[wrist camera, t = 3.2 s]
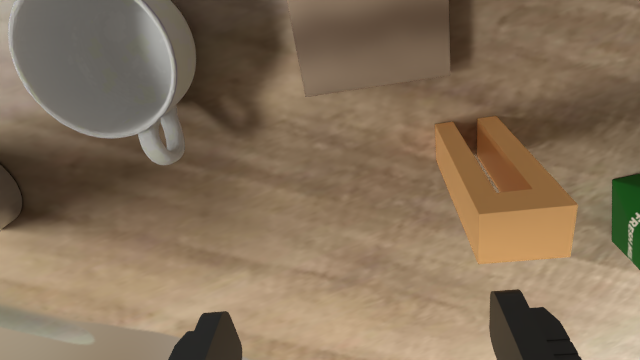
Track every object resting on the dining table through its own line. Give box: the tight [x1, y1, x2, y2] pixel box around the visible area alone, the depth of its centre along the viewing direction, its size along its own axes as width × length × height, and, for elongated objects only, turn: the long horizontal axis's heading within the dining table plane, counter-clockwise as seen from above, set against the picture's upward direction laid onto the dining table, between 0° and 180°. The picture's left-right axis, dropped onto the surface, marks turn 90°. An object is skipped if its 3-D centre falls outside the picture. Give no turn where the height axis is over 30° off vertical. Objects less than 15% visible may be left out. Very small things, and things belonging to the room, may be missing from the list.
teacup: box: [8, 0, 196, 165], centre depth 30 cm, size 14×11×8 cm
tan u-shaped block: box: [435, 116, 578, 264], centre depth 28 cm, size 4×5×14 cm
